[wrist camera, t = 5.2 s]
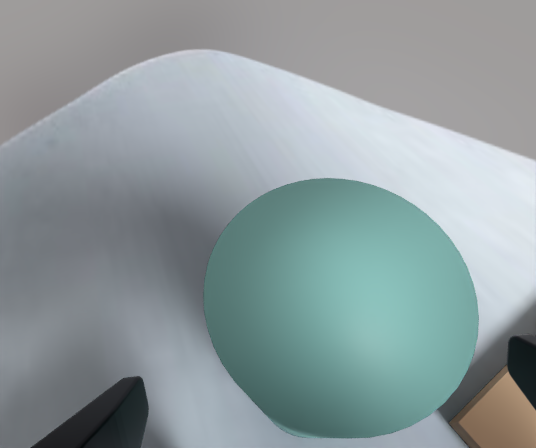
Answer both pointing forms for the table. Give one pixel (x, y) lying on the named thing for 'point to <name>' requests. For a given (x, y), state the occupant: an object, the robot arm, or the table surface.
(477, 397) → the board
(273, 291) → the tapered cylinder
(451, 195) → the table surface
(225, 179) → the table surface
